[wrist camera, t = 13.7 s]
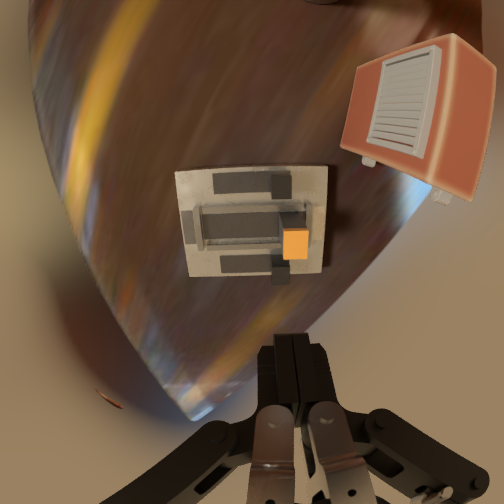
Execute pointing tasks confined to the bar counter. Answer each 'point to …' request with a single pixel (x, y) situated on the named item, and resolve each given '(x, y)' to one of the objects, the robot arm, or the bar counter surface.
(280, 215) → the block
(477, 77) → the orange rectangular box
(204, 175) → the breaker board
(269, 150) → the bar counter surface
